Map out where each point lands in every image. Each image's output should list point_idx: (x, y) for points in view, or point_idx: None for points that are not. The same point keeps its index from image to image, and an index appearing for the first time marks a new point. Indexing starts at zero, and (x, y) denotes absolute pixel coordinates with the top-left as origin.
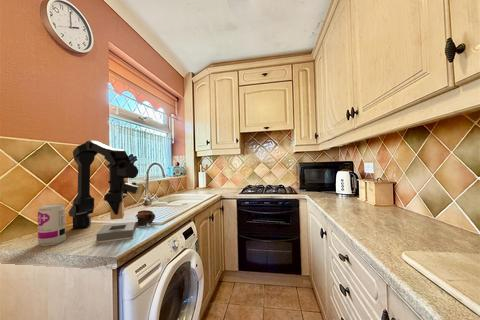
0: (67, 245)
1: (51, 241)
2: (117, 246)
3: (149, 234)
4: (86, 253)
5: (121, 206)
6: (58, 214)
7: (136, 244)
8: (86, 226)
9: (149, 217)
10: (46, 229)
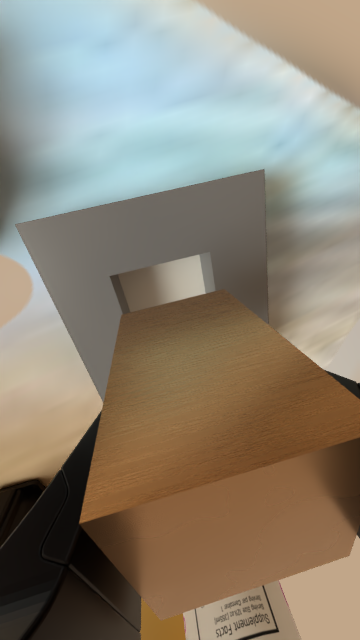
0: None
1: None
2: (331, 225)
3: (189, 50)
4: (346, 320)
5: (309, 369)
6: (271, 603)
7: (352, 114)
8: (29, 488)
9: None
10: None
